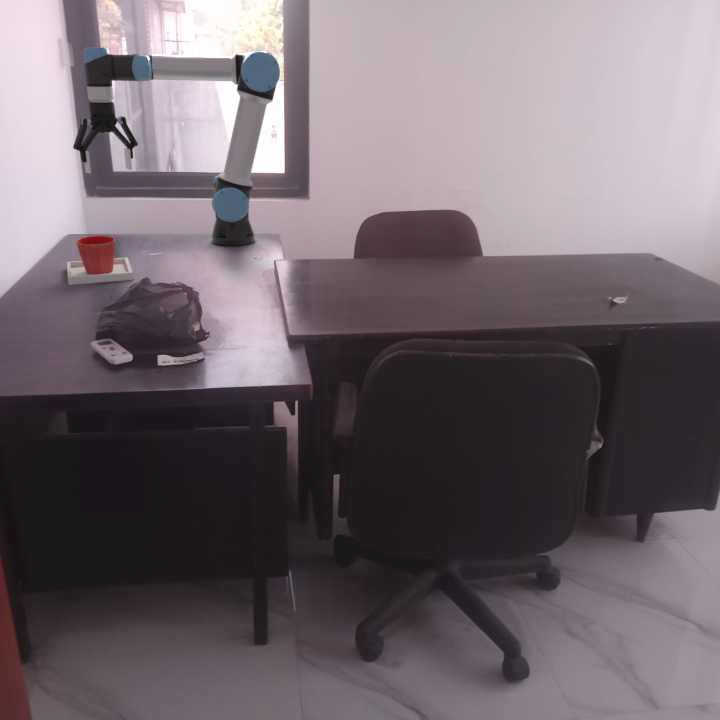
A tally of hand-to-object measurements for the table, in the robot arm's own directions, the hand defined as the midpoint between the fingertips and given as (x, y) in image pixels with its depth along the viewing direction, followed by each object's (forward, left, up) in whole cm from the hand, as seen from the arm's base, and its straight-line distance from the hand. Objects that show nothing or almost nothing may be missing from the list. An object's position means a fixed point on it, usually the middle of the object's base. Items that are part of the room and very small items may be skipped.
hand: (109, 171), depth 239 cm
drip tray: (+7, +25, -27) cm, 37 cm away
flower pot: (+7, +25, -26) cm, 37 cm away
